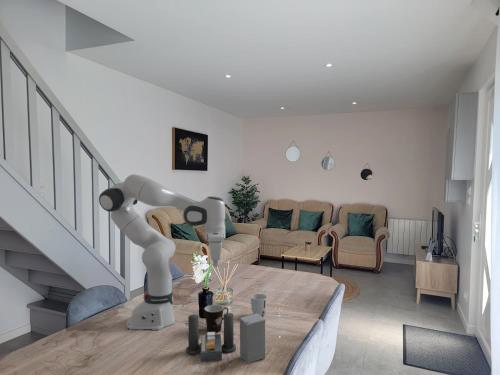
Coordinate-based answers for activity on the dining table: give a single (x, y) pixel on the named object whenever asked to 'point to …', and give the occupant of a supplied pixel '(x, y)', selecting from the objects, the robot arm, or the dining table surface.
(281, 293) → the dining table surface
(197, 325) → the post
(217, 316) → the coffee mug
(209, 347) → the paddle
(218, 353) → the dark grey boxy piece
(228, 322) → the post
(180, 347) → the dining table surface
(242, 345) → the skincare box
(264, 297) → the cup
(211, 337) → the paddle mid
